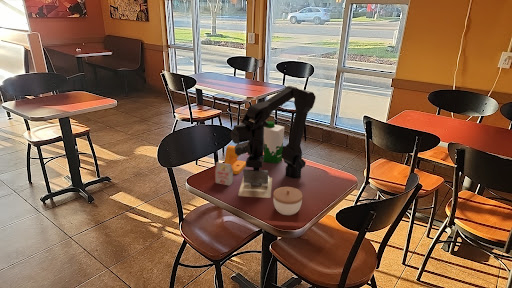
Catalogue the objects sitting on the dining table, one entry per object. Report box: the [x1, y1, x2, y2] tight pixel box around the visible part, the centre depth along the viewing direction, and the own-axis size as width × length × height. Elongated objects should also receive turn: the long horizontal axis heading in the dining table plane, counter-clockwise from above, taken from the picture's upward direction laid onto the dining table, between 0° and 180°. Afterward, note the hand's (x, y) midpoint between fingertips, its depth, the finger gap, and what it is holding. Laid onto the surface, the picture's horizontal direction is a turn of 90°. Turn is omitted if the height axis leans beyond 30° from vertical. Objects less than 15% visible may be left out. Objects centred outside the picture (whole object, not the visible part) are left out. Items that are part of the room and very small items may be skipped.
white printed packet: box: [214, 161, 234, 186], centre depth 139 cm, size 4×7×10 cm, turn 70°
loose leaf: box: [242, 168, 269, 186], centre depth 134 cm, size 10×10×2 cm
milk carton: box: [263, 120, 285, 164], centre depth 159 cm, size 9×9×20 cm
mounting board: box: [237, 175, 273, 199], centre depth 138 cm, size 13×17×1 cm
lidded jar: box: [272, 186, 303, 216], centre depth 120 cm, size 11×11×9 cm
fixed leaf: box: [244, 175, 270, 187], centre depth 140 cm, size 10×10×2 cm
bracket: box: [224, 144, 247, 175], centre depth 151 cm, size 11×7×12 cm, turn 160°
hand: (255, 173), depth 133 cm, fingers closed
